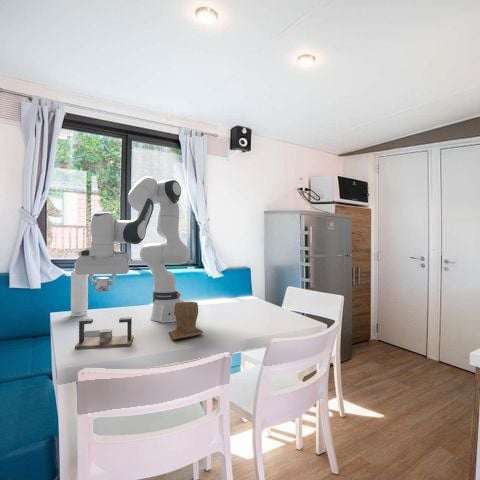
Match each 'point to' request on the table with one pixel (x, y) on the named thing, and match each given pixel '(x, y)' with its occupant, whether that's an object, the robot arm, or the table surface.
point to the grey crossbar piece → (102, 284)
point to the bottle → (79, 294)
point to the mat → (92, 333)
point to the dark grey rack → (104, 336)
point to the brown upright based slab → (185, 320)
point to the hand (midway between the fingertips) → (102, 285)
